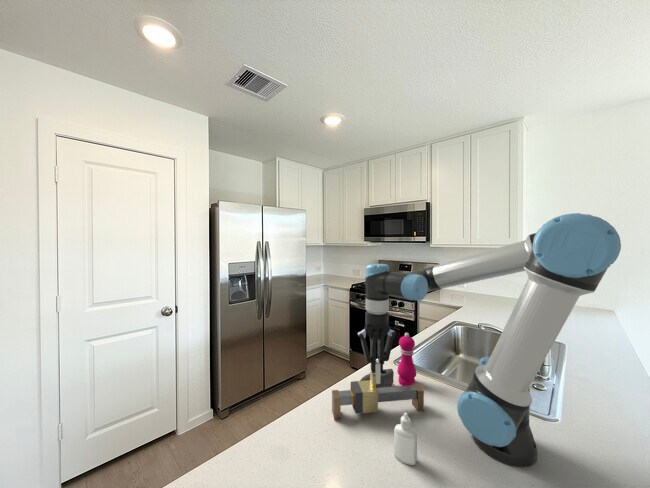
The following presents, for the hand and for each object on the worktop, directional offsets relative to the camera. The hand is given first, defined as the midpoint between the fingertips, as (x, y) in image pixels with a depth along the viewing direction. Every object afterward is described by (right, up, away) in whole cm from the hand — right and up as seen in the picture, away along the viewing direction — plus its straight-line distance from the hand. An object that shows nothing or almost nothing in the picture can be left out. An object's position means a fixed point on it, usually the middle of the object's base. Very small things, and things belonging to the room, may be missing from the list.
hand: (376, 381), depth 88 cm
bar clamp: (0, -10, 0) cm, 10 cm away
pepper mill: (+15, -10, +17) cm, 25 cm away
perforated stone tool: (+3, -10, +13) cm, 16 cm away
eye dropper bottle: (+4, -11, -18) cm, 22 cm away
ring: (-7, -8, -1) cm, 10 cm away
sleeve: (-3, -8, 0) cm, 8 cm away
